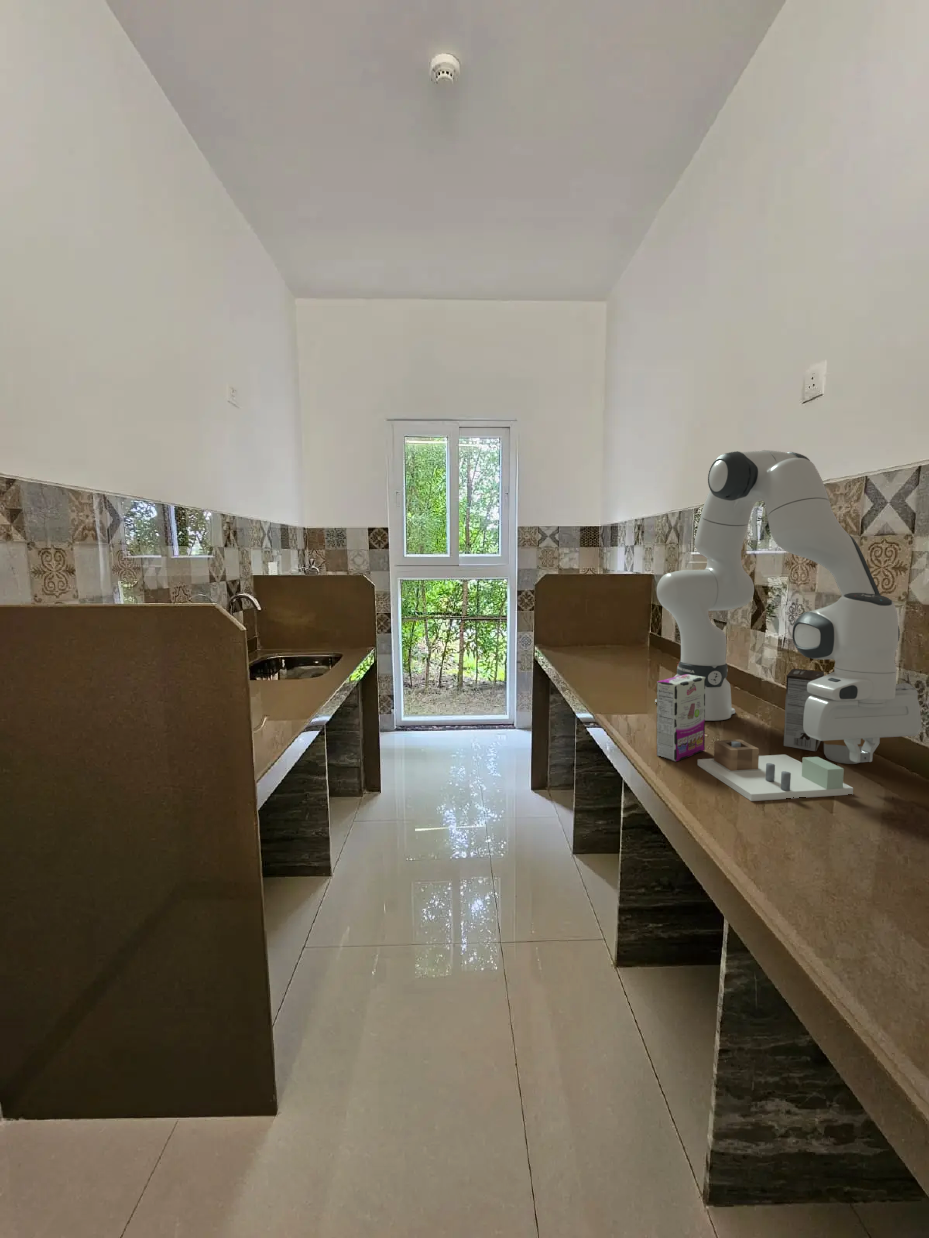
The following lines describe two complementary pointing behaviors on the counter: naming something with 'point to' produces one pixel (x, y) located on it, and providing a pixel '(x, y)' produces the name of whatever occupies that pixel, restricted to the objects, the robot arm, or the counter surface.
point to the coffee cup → (839, 751)
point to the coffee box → (798, 709)
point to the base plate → (770, 779)
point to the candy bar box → (680, 716)
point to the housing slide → (822, 772)
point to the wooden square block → (736, 755)
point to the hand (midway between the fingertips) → (860, 761)
